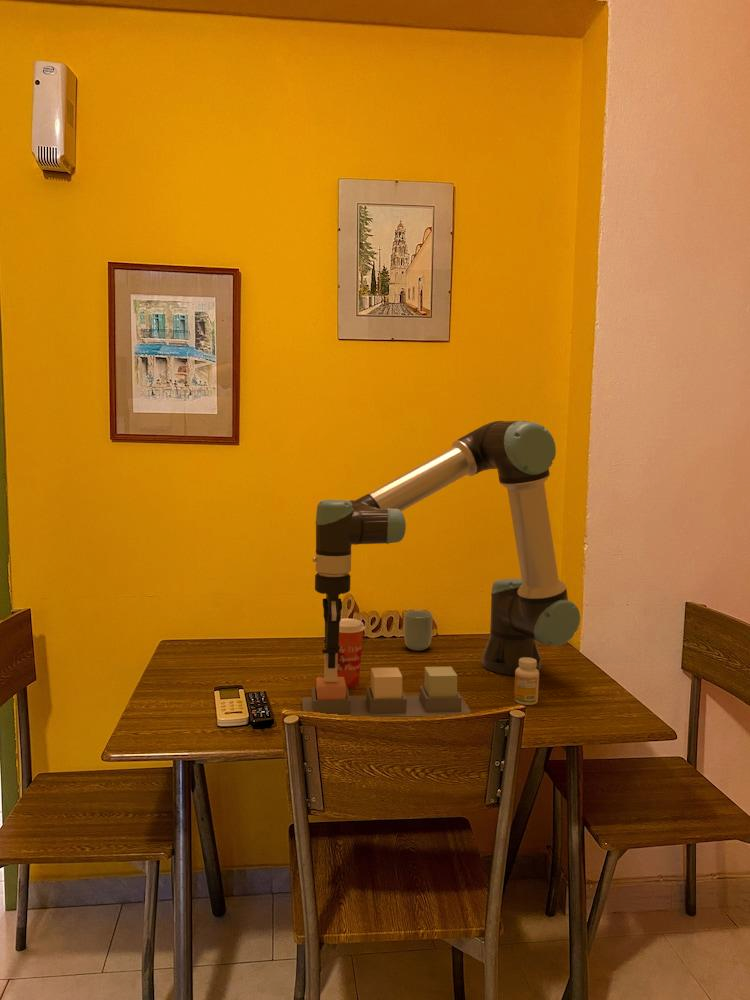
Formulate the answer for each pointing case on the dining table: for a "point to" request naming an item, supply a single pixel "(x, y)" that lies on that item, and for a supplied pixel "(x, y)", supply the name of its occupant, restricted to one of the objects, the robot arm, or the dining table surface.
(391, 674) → the key cream
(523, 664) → the supplement bottle
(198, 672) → the dining table surface
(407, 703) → the grey socket tray
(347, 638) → the coffee cup
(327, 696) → the key terracotta
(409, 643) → the cup
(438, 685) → the key sage
